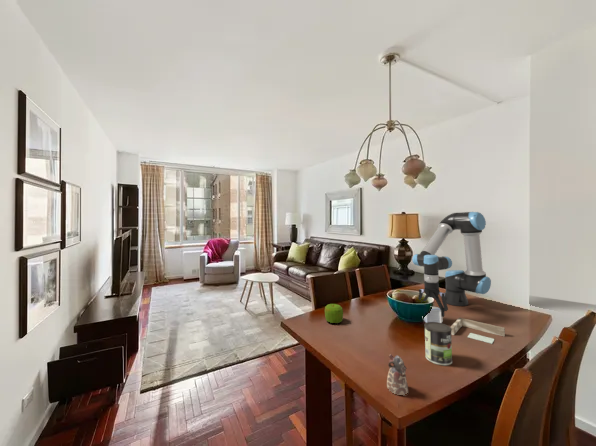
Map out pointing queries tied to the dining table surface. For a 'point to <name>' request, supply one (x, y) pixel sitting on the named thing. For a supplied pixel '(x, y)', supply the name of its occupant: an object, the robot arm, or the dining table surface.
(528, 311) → the dining table surface
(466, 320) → the corner walls
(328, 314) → the apple
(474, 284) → the robot arm
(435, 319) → the medicine box
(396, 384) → the figurine
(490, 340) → the pad
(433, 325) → the coffee can
